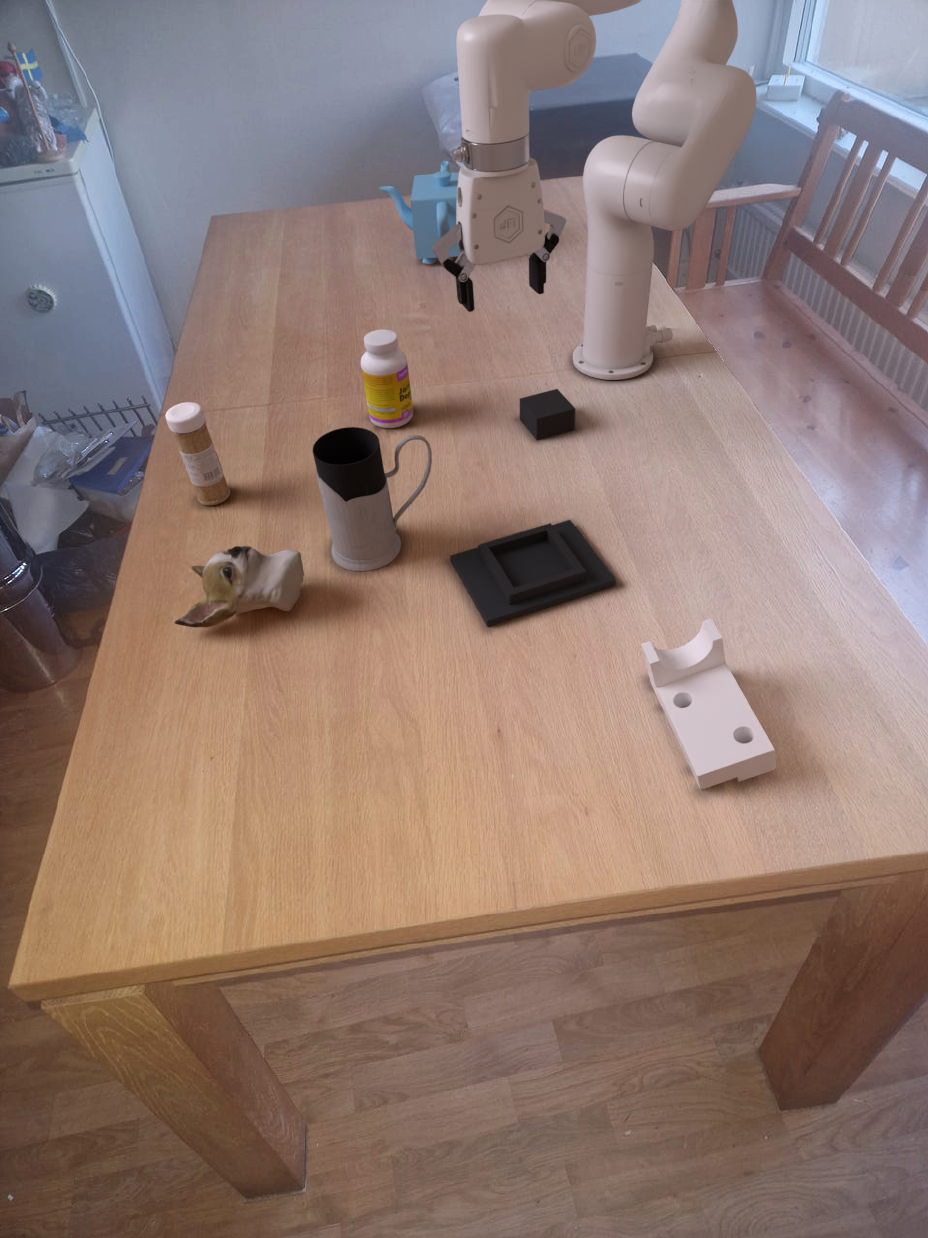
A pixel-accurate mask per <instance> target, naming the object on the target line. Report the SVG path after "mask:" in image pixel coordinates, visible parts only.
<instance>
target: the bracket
mask: <svg viewBox="0 0 928 1238" xmlns="http://www.w3.org/2000/svg"><path fill="white" fill-rule="evenodd" d="M640 646H641V647H640V648H641V651H642V654H643V658H644V659H643V660H644V663H645V666H646V670H647V674H648V677H649V683H650V684H651V686H652V689H653V690H654V693H655V695H656V697H657V699H658V702H659V704H660V706H661V708H662V710H663V713H664V714H665V717H666V718H667V721H668V723H669V725H670V728H671V729H672V732H673V734H674V736H675V738H676V741H677V743H678V745H679V747H680V749H681V751H682V753H683V755H684V757H685V760H686V762H687V764H688V766H689V769H690V771H691V773H692V774H693V777H694V779H695V782H696V783H697V785H698V788H699V790H700V791H702V790H704V789H708V788H710V787H713V786H716V785H720V784H722V783H725V782H727V781H731V780H733V779H736V780H737V782H738V783H740V782H743V781H746V780H748V779H751V778H755V777H757V776H760V775H764V774H766V773H769V772H771V771H774V770H777V763H776V762H777V761H776V750H775V748H774V745H773V744H772V743H771V740H770V739H769V737H768V735H767V733H766V732H765V730H764V728H763V726H762V725H761V723H760V721H759V719H758V717H757V715H756V714H755V712H754V710H753V709H752V707H751V705H750V703H749V702H748V701H749V700H747V698H746V696H745V694H744V693H743V691H742V689H741V688H740V686H739V684H738V682H737V680H736V678H735V677H734V675H733V673H732V672H731V669H730V668H729V666H728V664H727V661H726V654H725V647H724V640H723V636H722V635H721V633H720V631H719V629H718V627H717V626H716V624H715V623H714V621H713V619H712V618H708V619H705V620H703V621H701V627H700V630H699V632H698V633H697V635H696V636H695V637H693V638H692V640H690V641H689V642H687V643H686V644H683V645H682V646H678V647H676V648H671V649H660V648H657V647H655V646H654V645H653V644H652V642H651V640H648V641H645V642H643V643H640Z"/></svg>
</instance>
